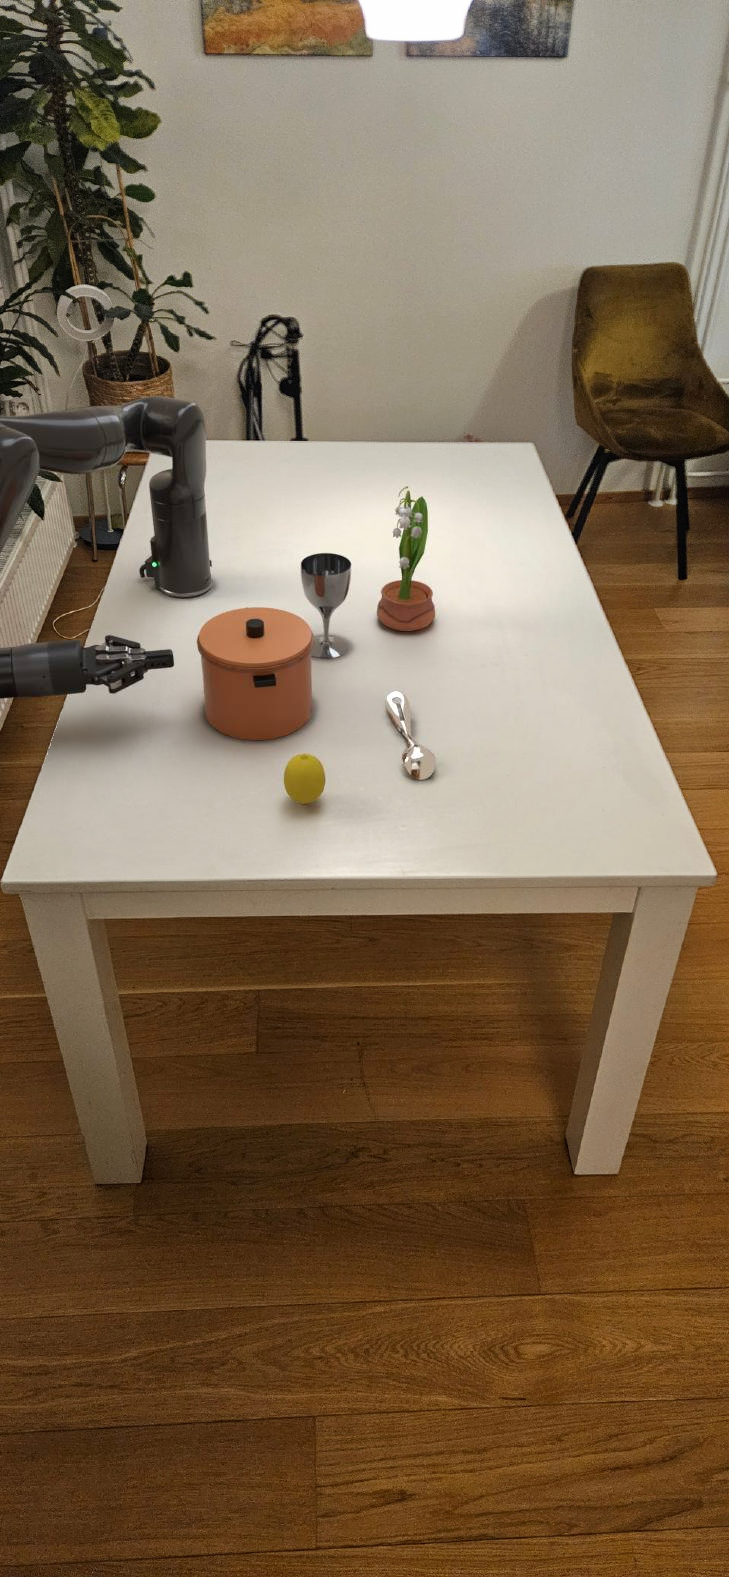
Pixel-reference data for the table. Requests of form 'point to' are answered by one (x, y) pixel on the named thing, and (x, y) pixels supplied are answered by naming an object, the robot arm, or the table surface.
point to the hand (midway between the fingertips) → (173, 658)
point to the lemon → (304, 778)
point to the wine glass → (326, 596)
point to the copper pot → (256, 672)
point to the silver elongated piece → (411, 741)
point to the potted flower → (408, 573)
